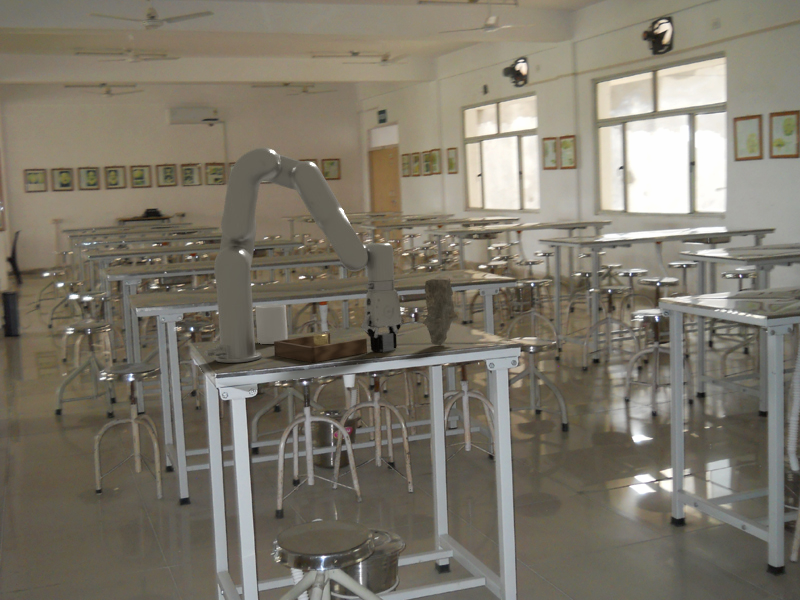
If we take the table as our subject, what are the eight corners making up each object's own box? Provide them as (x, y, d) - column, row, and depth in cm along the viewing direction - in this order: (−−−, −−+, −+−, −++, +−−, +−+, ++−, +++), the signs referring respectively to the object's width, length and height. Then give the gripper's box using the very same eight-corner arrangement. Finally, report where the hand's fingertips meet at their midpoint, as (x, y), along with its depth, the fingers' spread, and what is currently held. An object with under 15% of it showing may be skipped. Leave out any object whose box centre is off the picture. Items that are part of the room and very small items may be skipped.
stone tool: (427, 348, 233) (425, 279, 231) (418, 346, 238) (415, 278, 236) (463, 344, 239) (461, 276, 237) (453, 341, 244) (451, 275, 242)
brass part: (320, 357, 226) (319, 336, 225) (311, 356, 229) (310, 335, 228) (331, 355, 229) (330, 334, 228) (323, 354, 232) (322, 333, 231)
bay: (312, 362, 219) (311, 347, 218) (274, 355, 233) (274, 341, 232) (367, 352, 231) (366, 338, 231) (328, 346, 245) (327, 332, 245)
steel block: (383, 352, 231) (382, 335, 230) (374, 351, 234) (373, 333, 233) (393, 350, 233) (393, 333, 233) (384, 349, 236) (384, 332, 236)
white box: (259, 346, 251) (257, 308, 249) (254, 340, 262) (252, 304, 261) (290, 343, 254) (288, 306, 252) (283, 338, 265) (281, 302, 264)
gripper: (366, 290, 223) (368, 355, 225) (412, 284, 234) (414, 346, 236) (349, 288, 229) (352, 352, 231) (395, 283, 240) (397, 344, 242)
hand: (383, 348), depth 233 cm, fingers open, 5 cm apart
